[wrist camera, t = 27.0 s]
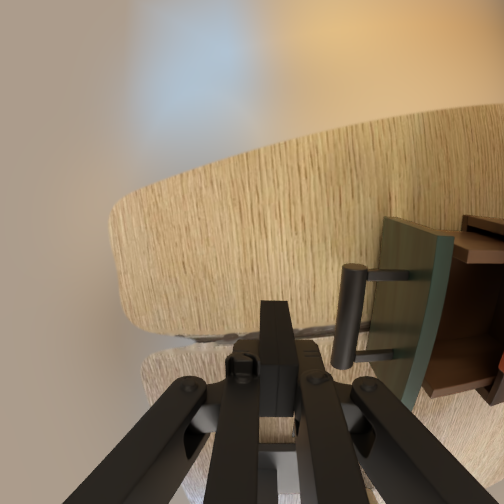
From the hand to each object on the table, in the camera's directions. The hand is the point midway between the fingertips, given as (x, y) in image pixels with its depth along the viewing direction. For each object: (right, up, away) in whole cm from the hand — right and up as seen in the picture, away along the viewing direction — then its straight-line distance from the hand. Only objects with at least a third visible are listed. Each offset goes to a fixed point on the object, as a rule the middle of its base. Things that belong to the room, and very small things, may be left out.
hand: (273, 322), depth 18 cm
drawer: (+13, +1, +5) cm, 14 cm away
